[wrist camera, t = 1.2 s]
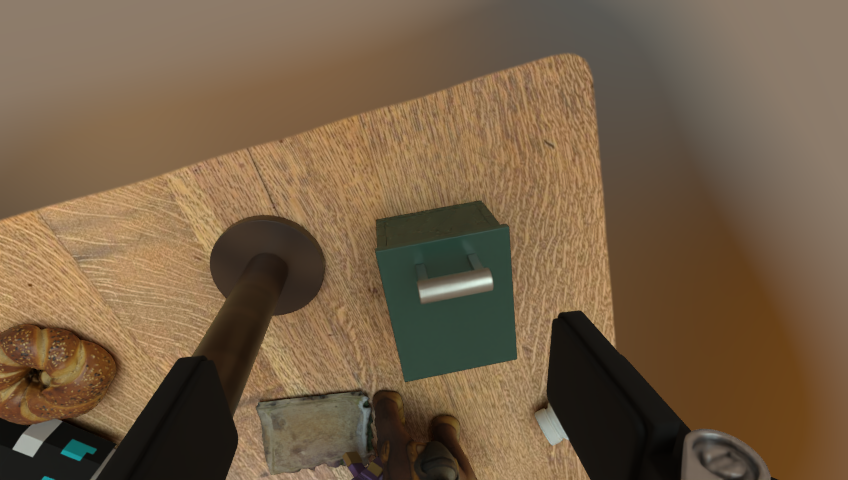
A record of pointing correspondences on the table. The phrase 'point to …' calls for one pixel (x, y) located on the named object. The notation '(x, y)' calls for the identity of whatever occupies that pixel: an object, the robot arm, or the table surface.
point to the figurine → (417, 445)
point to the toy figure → (368, 476)
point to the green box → (433, 223)
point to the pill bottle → (550, 425)
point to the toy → (51, 452)
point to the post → (257, 291)
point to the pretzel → (50, 374)
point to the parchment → (315, 431)
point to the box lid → (450, 301)
